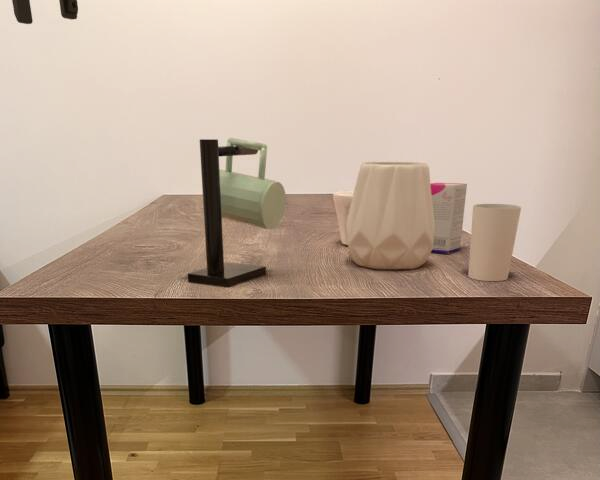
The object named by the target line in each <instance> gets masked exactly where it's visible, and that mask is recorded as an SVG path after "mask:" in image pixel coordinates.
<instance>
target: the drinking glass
mask: <svg viewBox="0 0 600 480" xmlns="http://www.w3.org/2000/svg"><path fill="white" fill-rule="evenodd" d="M521 210H522V206H521V205H516V204H507V203H477V204H473V205H472V215H471V216H472V218H471V230H470V231H471V233H470V244H469V245H470V247H469V257H468V259H469V260H468V273H467V277H468V278H469V279H471V280H472V279H473V280H476V281H484V282H501V281H506V280H509V279H508V278H509V273H510V268H511V263H512V257H513V252H514V247H515V243H516V242H515V241H516V237H517V231H518V226H519V222H520V215H521Z"/></svg>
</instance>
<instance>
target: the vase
mask: <svg viewBox="0 0 600 480" xmlns="http://www.w3.org/2000/svg"><path fill="white" fill-rule="evenodd" d="M430 183H431V173H430V166H429V164H427V163H426V162H417V161H365V162H362V163H361V164H360V167H359V170H358V174H357V178H356V180H355V185H354V189H353V191H354V194H353V198H352V202H351V206H350V210H349V215H348V219H347V224H346V230H347V236H348V246H347V248H348V254H349V256H350V258H351V259H352V260H353V262H354V263H355V264H356V265H357V266H358V267H363V268H367V269H369V268H370V269H373V270H391V271H392V270H393V271H394V270H395V271H397V270H415V269H417V268H419V267H421V266H423V265H424V264H425V263H426V262H427V260H428V259H429V257H430V255H431V251H432V249H433V239H434V231H435V222H434V212H433V203H432V195H431V186H430Z"/></svg>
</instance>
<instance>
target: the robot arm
mask: <svg viewBox="0 0 600 480" xmlns="http://www.w3.org/2000/svg"><path fill="white" fill-rule="evenodd" d="M11 2H12V8H13V14H14V18H15V19H16V21H17V22H18V23H19V24H24V25H32V24H33V21H34V20H33V14H32V7H31V1H30V0H11ZM58 2H59V8H60V15H61V17H62V18H63V19H66V20H71V21H72V20H77V19H78V14H79V5H78V4H79V3H78V0H59V1H58Z"/></svg>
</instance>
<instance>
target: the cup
mask: <svg viewBox="0 0 600 480" xmlns="http://www.w3.org/2000/svg"><path fill="white" fill-rule="evenodd" d="M353 194H354V190H340V191H335V192H333V193H332V200H333V203H334V208H335V214H336V219H337V224H338V230H339V236H340V241H341V244H342V246H345V247H348V236H347V230H346V224H347V219H348V215H349V210H350V206H351V202H352V198H353Z"/></svg>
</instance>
